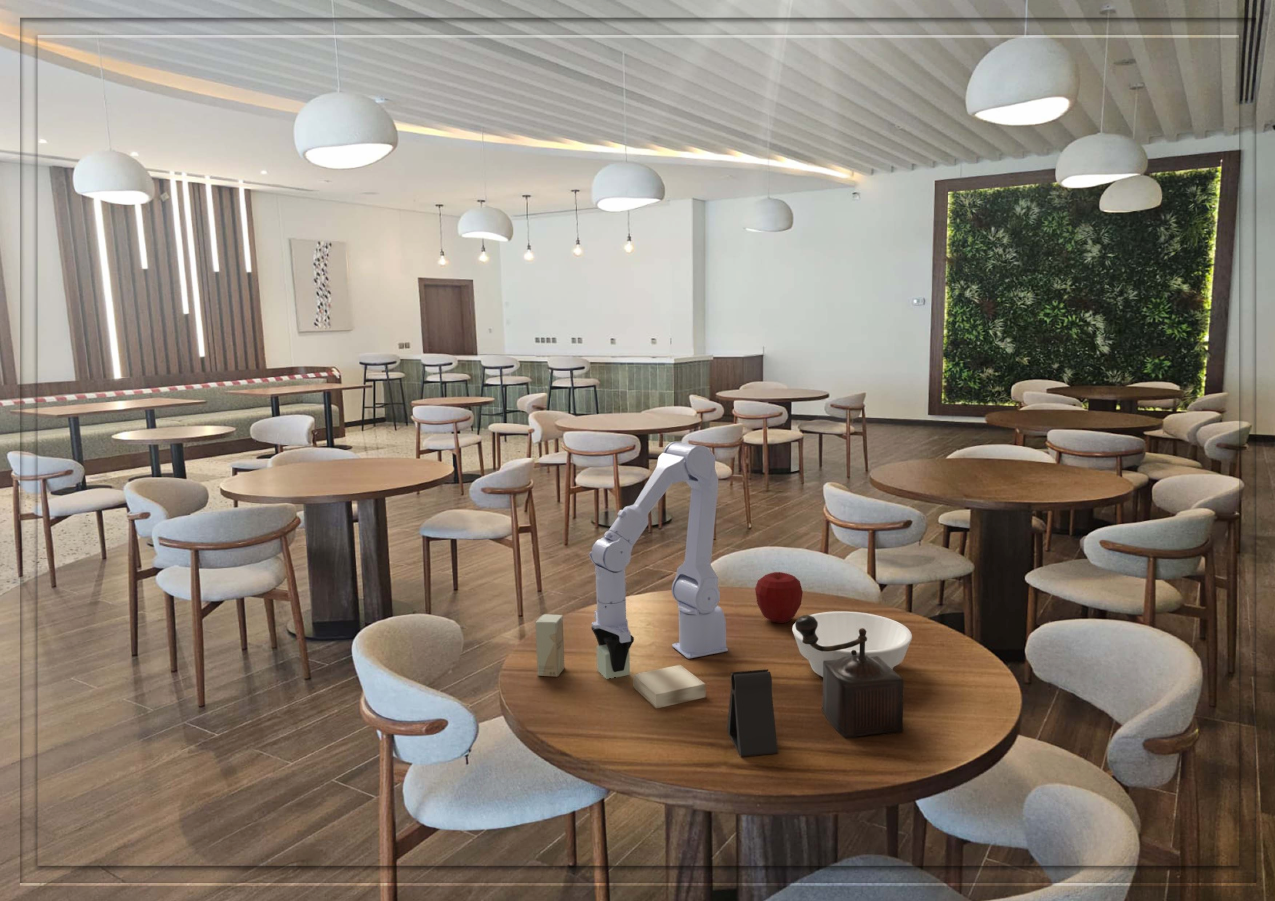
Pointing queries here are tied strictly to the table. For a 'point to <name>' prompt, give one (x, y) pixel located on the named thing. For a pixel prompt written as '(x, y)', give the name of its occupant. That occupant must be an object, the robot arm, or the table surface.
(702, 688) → the birch block
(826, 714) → the manual coffee grinder
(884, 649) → the bowl
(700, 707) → the table surface
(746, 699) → the phone stand
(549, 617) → the box
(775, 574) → the apple
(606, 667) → the sage cube
